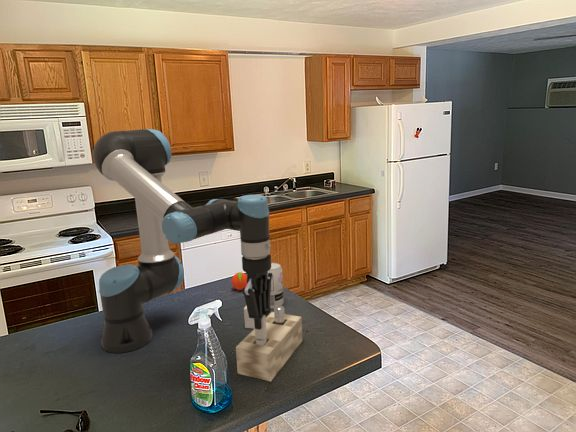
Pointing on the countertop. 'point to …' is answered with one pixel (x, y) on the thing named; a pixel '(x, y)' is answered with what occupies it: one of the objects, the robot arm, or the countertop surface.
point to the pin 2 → (279, 315)
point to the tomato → (239, 281)
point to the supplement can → (276, 286)
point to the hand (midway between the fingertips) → (261, 337)
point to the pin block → (269, 348)
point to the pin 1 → (260, 341)
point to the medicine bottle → (250, 319)
